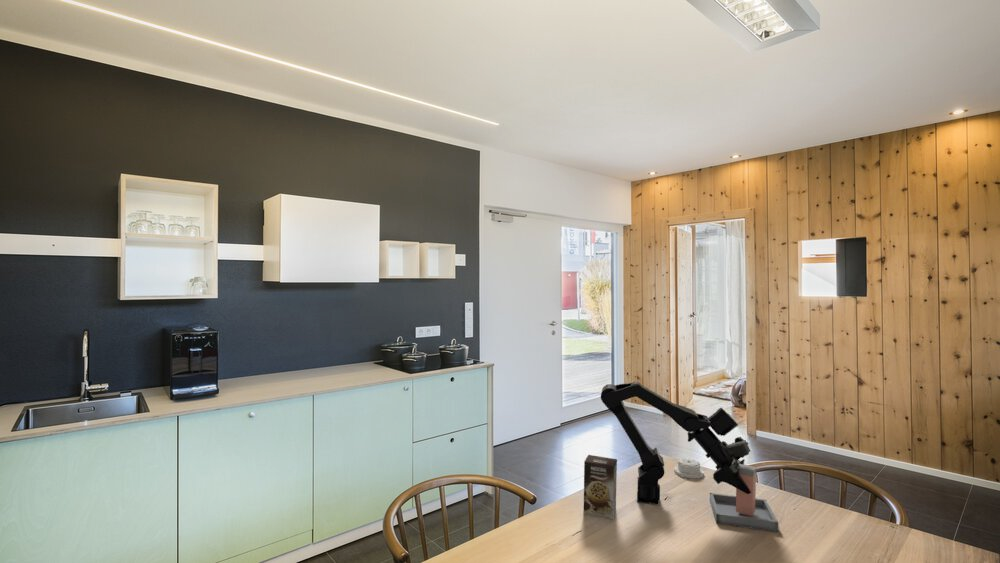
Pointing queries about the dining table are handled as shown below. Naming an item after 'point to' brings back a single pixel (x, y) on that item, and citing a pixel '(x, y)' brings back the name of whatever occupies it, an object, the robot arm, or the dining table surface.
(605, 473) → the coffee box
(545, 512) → the dining table surface
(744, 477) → the pink and gray block
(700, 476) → the white round piece
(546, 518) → the dining table surface
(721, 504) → the tray
